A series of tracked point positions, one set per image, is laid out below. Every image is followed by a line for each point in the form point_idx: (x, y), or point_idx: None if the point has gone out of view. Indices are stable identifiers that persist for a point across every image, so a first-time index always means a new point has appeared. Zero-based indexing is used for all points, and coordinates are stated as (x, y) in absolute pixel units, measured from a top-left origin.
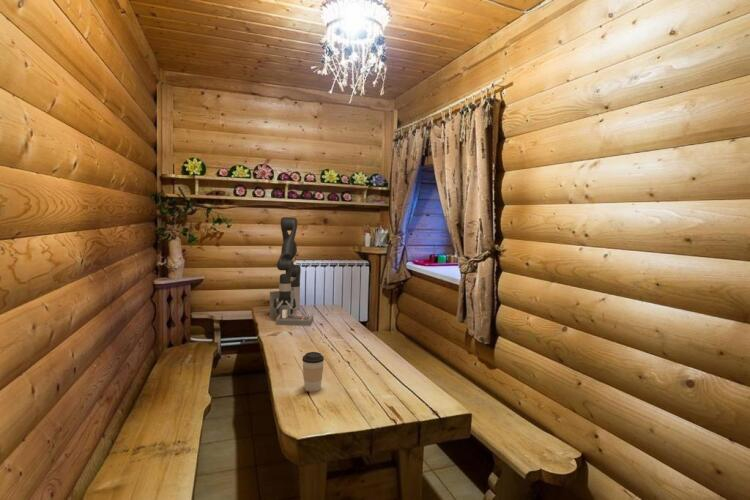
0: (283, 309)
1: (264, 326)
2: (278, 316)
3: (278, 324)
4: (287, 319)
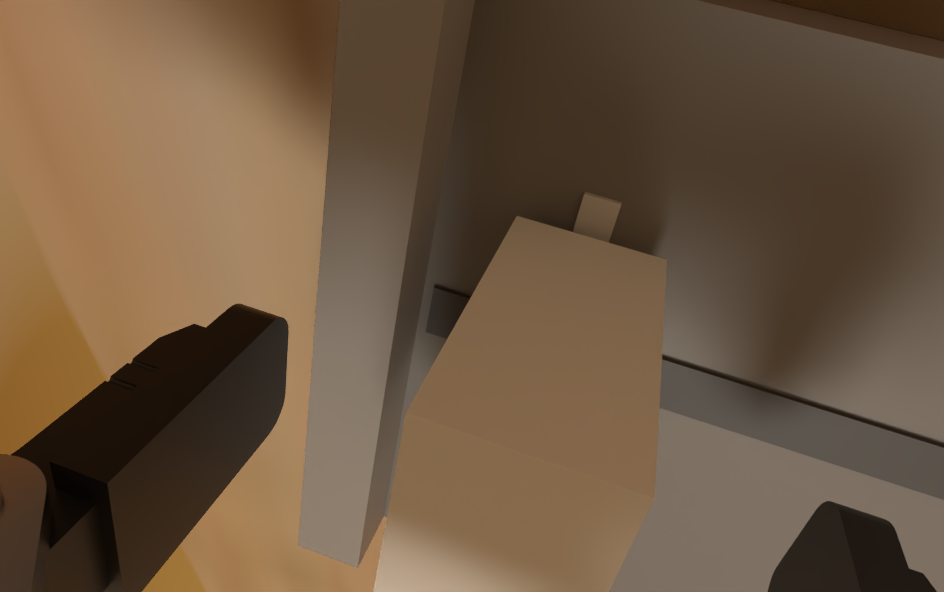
0: (393, 523)
1: None
2: (325, 425)
3: None
4: None
